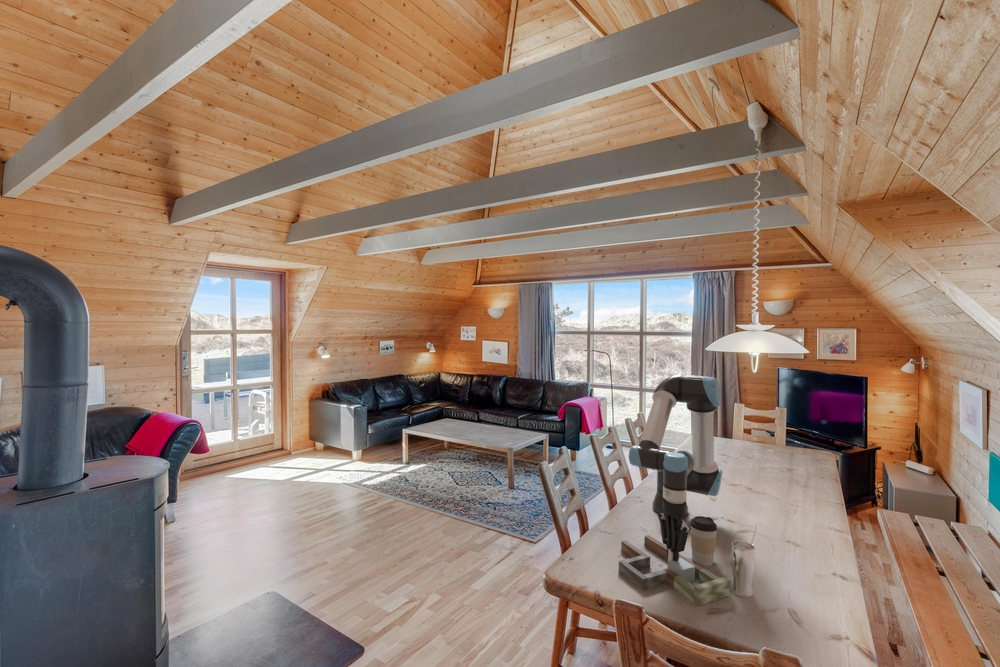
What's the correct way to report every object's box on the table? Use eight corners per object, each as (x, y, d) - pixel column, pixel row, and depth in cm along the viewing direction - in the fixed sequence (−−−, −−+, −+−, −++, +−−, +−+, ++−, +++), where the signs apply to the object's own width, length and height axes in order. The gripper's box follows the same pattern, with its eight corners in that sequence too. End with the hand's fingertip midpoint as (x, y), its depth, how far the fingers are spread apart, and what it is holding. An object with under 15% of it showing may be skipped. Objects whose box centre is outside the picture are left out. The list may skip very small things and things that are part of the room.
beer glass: (746, 585, 149) (747, 539, 149) (759, 598, 142) (760, 550, 142) (725, 585, 149) (726, 539, 149) (737, 598, 142) (738, 550, 142)
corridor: (648, 544, 176) (648, 531, 176) (729, 595, 143) (730, 580, 143) (599, 555, 167) (599, 542, 167) (673, 614, 134) (674, 597, 134)
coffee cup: (700, 568, 159) (701, 525, 159) (683, 555, 168) (684, 515, 167) (722, 565, 162) (723, 523, 161) (704, 552, 170) (705, 512, 170)
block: (680, 572, 157) (681, 557, 157) (694, 581, 151) (695, 566, 151) (667, 576, 154) (667, 561, 154) (680, 585, 149) (681, 570, 149)
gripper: (652, 494, 160) (650, 561, 161) (680, 508, 148) (678, 580, 149) (668, 491, 163) (667, 557, 164) (698, 505, 151) (695, 575, 152)
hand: (672, 568), depth 156 cm, fingers closed
